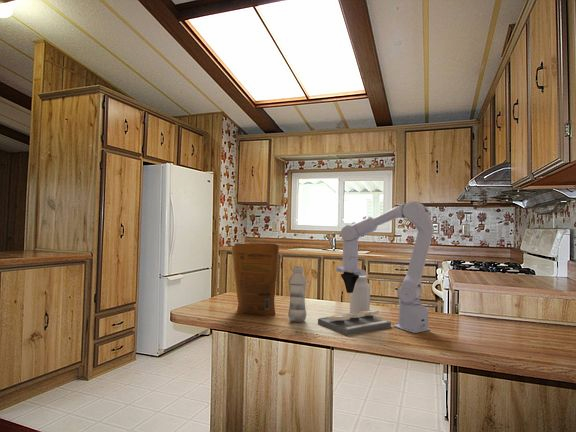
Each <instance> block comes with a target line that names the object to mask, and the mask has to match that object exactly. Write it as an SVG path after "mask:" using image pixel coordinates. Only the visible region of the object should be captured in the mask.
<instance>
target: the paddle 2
mask: <svg viewBox="0 0 576 432" xmlns="http://www.w3.org/2000/svg"><path fill="white" fill-rule="evenodd" d="M358 313H364V314H365V316H370V315H374V316H376V315H380V311H379V310H370V311H361V312H358Z"/></svg>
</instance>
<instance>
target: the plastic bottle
mask: <svg viewBox="0 0 576 432" xmlns="http://www.w3.org/2000/svg"><path fill="white" fill-rule="evenodd" d="M303 273H304V267H303V266H292V275H290V277H289V279H288V289H289V307H288V313H287V316H288V319H289V321H290V322H294V323H302V322H305V321H306V319H307V309H306V301H305V299H306V297H305V296H306V289H307V278H306V276H305V275H304V274H303Z"/></svg>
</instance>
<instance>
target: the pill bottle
mask: <svg viewBox="0 0 576 432" xmlns="http://www.w3.org/2000/svg"><path fill="white" fill-rule="evenodd" d="M367 281H368V276H367V275H365V276H360V275H359V278H358V279H357V281H356V283H355V286H354V290H353V293H349V294H350V295H349V313H355V312H361V311H371V310H370V305H371V303H370V302H371V301H370V300H371V285H370V283H368V282H367Z"/></svg>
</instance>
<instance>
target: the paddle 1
mask: <svg viewBox="0 0 576 432" xmlns="http://www.w3.org/2000/svg"><path fill="white" fill-rule="evenodd" d="M339 315H340V314H336V315H331V316H330V315H329V316H330V317H329V316H328V317H329V320H347V319H350V317H349V315H348V316H339Z"/></svg>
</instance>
